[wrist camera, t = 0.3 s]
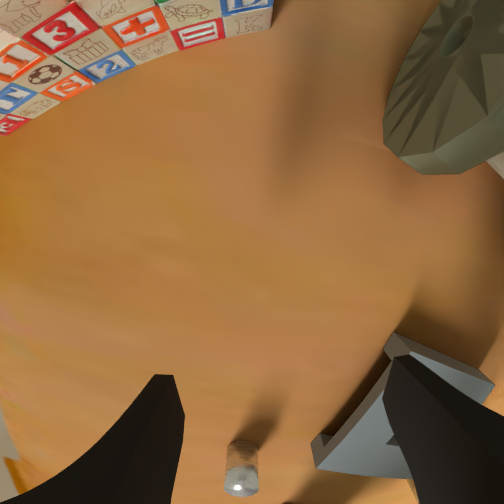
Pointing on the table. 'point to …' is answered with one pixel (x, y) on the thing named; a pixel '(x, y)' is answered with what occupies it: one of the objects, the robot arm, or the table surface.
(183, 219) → the table surface
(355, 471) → the board
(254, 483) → the short pin
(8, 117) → the stack of blocks
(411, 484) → the long pin
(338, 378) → the table surface
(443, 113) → the spool
